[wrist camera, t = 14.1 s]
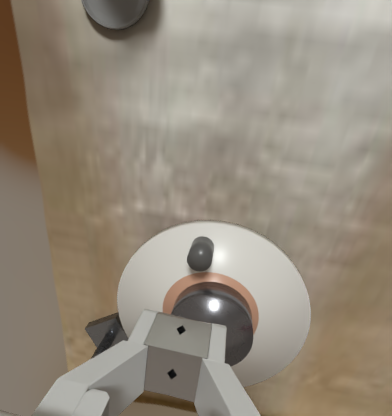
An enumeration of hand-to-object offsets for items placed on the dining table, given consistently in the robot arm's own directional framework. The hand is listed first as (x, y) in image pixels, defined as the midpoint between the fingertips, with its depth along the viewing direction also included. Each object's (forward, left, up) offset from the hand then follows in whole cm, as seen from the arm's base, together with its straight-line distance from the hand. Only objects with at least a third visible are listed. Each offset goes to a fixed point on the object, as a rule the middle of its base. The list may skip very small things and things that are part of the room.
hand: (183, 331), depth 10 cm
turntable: (+7, +12, -22) cm, 26 cm away
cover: (+6, +13, -19) cm, 23 cm away
